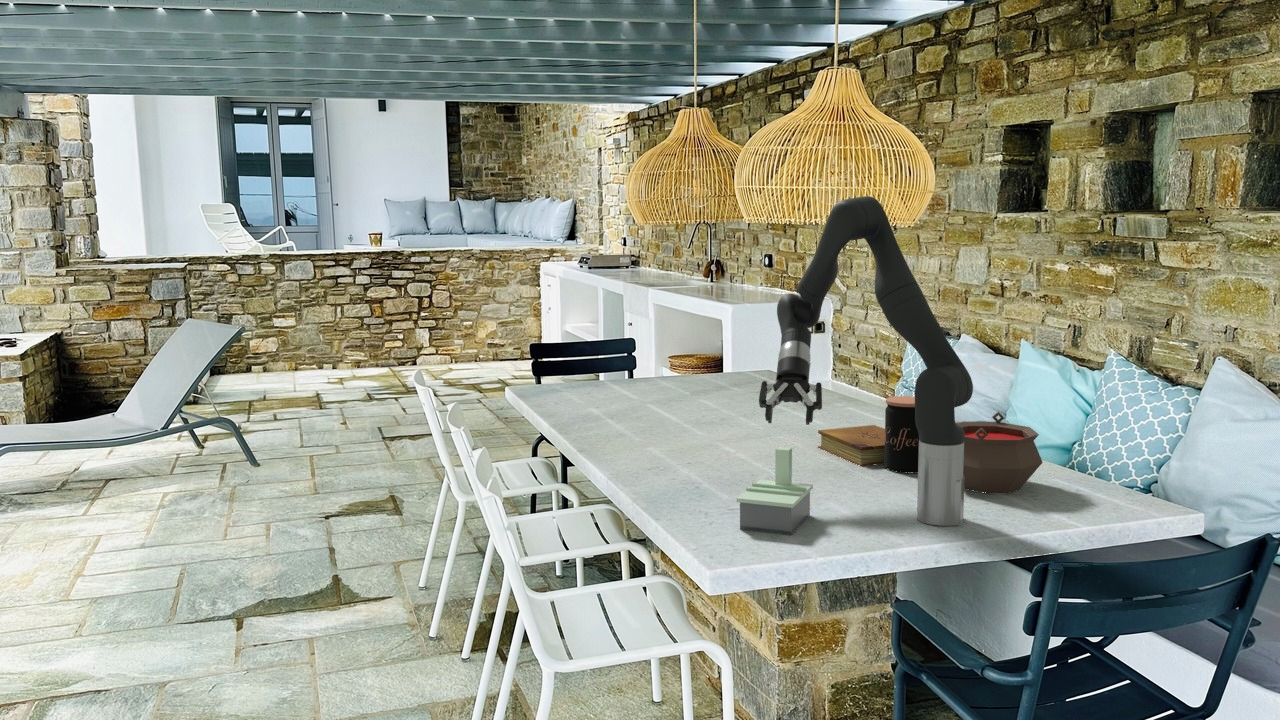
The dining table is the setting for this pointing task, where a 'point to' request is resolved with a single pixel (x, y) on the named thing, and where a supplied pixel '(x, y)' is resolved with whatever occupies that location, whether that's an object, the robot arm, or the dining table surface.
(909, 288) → the robot arm
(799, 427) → the dining table surface
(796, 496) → the lid
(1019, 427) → the brown faceted pot
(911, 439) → the coffee jar
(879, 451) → the diary
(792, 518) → the tub
